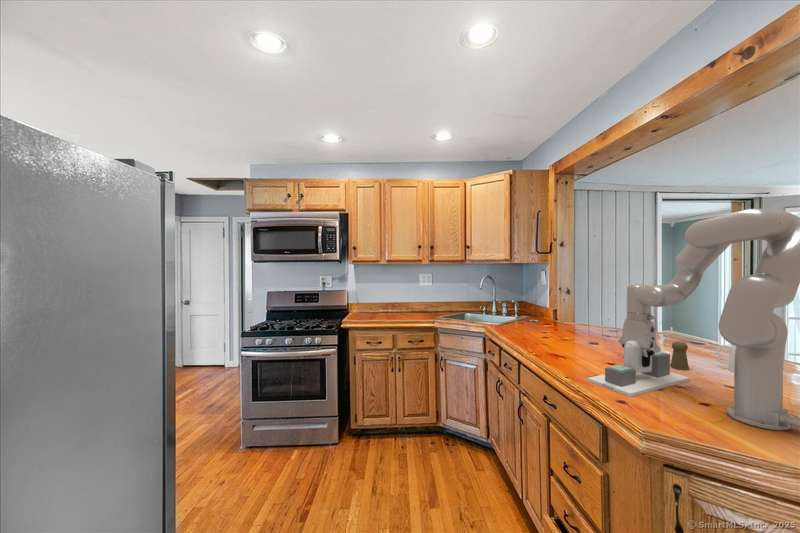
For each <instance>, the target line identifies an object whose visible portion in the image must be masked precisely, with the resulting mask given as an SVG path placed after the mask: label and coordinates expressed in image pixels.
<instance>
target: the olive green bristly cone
mask: <svg viewBox="0 0 800 533" xmlns="http://www.w3.org/2000/svg"><path fill="white" fill-rule="evenodd" d="M688 346H689V345H688V344H687V343H686V342H684V341H673V342H672V343H671V348H672V349H673V351H672V356H671V359H670V369H675V370H677V371H678V370H679V371H689V364H688V362H689V361H688V356H687V350H688V348H689V347H688Z"/></svg>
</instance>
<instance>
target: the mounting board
mask: <svg viewBox="0 0 800 533" xmlns="http://www.w3.org/2000/svg"><path fill="white" fill-rule="evenodd" d="M670 366H671V354H670V353H667V352H664V351H659V352H656V353H655V354H653V355H652V371H651V372H643V373H636V370H635V369H632V368H629V367H625V366H624V365H621V364H616V365H612V366H608V367H607V366H606V367H604V373H603V374H599V375H596V376H595V375H593V376H591V377H587V378H586V381H587V382H588V383H591V384H594V385H597V386H599V387H601V388H605V389H607V390H611V391H614V392H615V391H616V392H615V393H618V394H620V395H624V396H626V397H628V398H629V397H630V398H631V397H636V396H639V395H643V394H646V393H651V392H654V391H658V390H661V389H664V388H668V387H671V386H675V385H679V384H683V383H687V382H690V377H688V376H685V375H682V374H677V373H674V372H671V367H670Z"/></svg>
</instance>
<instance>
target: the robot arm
mask: <svg viewBox="0 0 800 533" xmlns="http://www.w3.org/2000/svg"><path fill="white" fill-rule="evenodd" d="M684 240H685V242H686V243H687V244H686V245H685V247H684V248H683V249H682V250H681V251H680V252H679V254H678V255H676V256H675V257H676V258H675V262H676V264H677V265H678V271H677V273H676V274H675V276H674V277H673V278H672V279H671V280H670V281H669V282H668V283H667V284H659V285H649V284H644V283H643V284H642V283H632V284H628V286H627V287H626V318H625V319H624V322H623V326H622V334H621V335H622V336H620V338H619V339H618V341H617V342H618V343H619V344H620V345H621V347H622V348H623V349H624V345H625V343H626V342H628V341H630V340H633V341H636V342H637V343H638V344H639V346H640V348H642V349H643V353H644V356H643V357H642V366H643V367H649V365H650V356H652V355H653V354H655V353H656V352H661V350H662V349H661V348H660V347H659V345H658V344H657V333H656V332H657V330H656V325H655V322H654V321H652V320H655V318H656V317H655V315H652V307H654V308H660V307H668V306H669V307H670V306H676V305H677V306H678V305H679V304H682V303H683V302H684V301H685V300H686V299H688V298H689V296H691V295H692V293H693V292H694V291H695V290H697V288H698V287H699V285H700V283H701V282H702V279H703V276H704V274H705V273H704V272H706V270H707V269H708V268H709V267H710V266H711V265H712V264H713V263H714V262H715V261H716V260H717V259H718V258H719V257H720V256H721V255H722V254H723V253H724V252H725V251H726V250H727V248H729V247H730V245H731V244H735V243H742V242H747V241H765V242H766V243H767V244H766V247H765V249H764V250H763V251H762V253H761V255H760V257H759V260H758V264H757V266H756V269H755V271H754V273H753V274H749V275H746V276H743V277H740V278H739V279H737V280H736V281H735V282H734V283H733V285H731V287H730V289H729V291H728V293H727V297H726V300H725V302H724V306H723V309H722V312H721V314H720V317H719V321H718V330H719V334H720V335H721V337H722V338H723V339H724V340H725V341H726V342H727V343H729V344H730V345H735V346H736V349H735V362H734V373H733V374H734V376H733V378H734V380H733V405H732V406H729V407H726V414H727V415H728V416H729V417H730V418H732V419H734V420H736V421H738V422H741V423H744V424H746V425H749V426H753V427H756V428H761V429H766V430H771V431H788V430H790V429H791V428H792V426H793V427H796V428H799V429H800V418H799V417H798V416H797V417H796V416H792V415H790V414H789V413H788V409H787V408H785V407H783V406H784V404H783V403H784V402H783V400H784V395H783V394H784V393H783V392H784V365H785V364H784V363H785V362H784V361H785V350H786V346H787V345H786V344H787V341H788V334H789V333H788V327H787V326H788V325H787V324H786V322H785V320H784V319H783V318H782V317H780V316H779V315H778V314H776V313H774V311H775V309H777V308H782V307H786V306H788V305H790V304H791V303H792V302H793V301H795V298H796V295H797V292H798V289H799V286H800V217H799V216H798V215H796V214H793V213H791V212H788V211H785V210H780V209H767V208H766V209H765V208H749V209H742V210H739V211H734V212H731V213H727V214H722V215H718V216H714V217H710V218H705V219H702V220H698V221H695V222H694V223H692V224H691V225H689V227H688V228H687V229H686V231H685V234H684ZM650 348H652V350H651V349H650Z"/></svg>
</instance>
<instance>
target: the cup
mask: <svg viewBox="0 0 800 533" xmlns="http://www.w3.org/2000/svg"><path fill="white" fill-rule="evenodd" d="M721 347H723V348H726V349H728V352H729V353H728V355H729V356H728V360H722V359H721V355H720V351H721ZM735 349H736V346H735V345H732V344H730V345H725V344H719V345H718V346H717V349H716V358H717V361H718V362H719V363H721V364H727V365H728V370H729V372H731V373H733V374H734V362H735Z"/></svg>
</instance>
